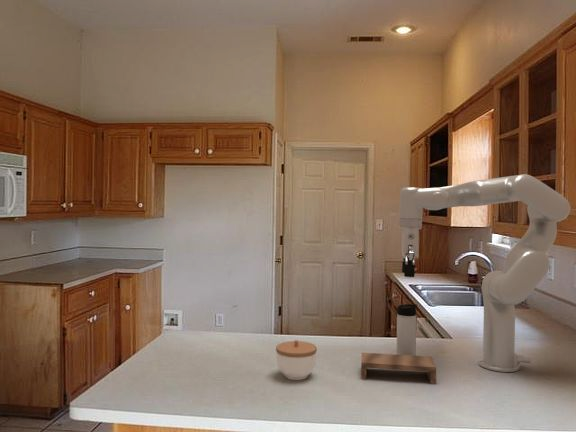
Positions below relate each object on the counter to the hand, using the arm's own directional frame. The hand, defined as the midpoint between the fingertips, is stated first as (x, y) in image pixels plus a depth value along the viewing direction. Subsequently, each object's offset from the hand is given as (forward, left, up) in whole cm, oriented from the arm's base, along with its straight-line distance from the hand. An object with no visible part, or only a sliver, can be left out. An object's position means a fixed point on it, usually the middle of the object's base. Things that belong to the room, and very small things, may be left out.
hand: (407, 274), depth 154 cm
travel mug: (0, 0, -30) cm, 30 cm away
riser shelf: (+4, +12, -30) cm, 33 cm away
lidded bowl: (+35, +18, -30) cm, 50 cm away
